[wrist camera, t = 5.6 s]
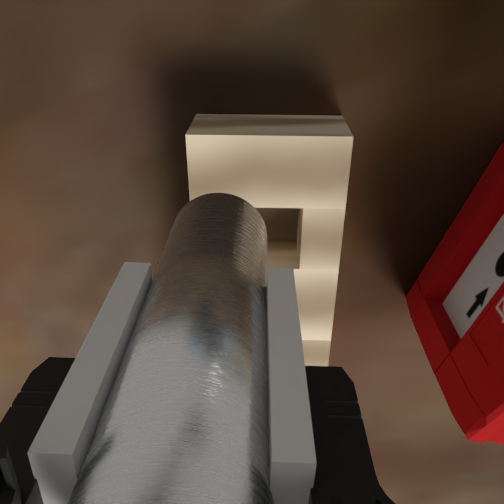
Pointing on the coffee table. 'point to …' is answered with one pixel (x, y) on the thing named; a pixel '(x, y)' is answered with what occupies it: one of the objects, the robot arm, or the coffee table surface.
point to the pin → (192, 373)
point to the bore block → (284, 198)
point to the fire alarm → (468, 309)
